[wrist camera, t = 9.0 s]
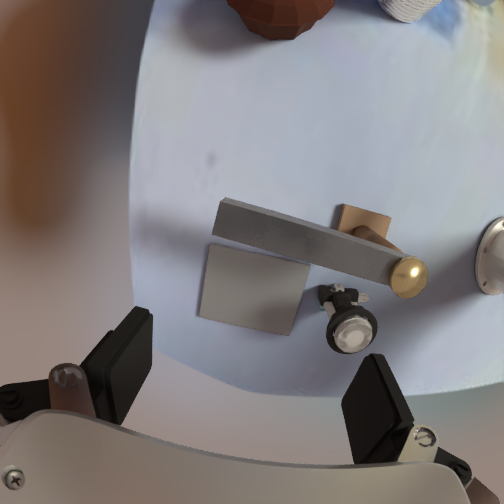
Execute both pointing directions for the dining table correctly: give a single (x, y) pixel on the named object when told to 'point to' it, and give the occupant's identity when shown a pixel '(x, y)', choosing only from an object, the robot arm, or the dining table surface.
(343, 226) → the post
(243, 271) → the rubber mat
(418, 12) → the water bottle
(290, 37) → the muffin
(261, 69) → the dining table surface
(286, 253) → the steel strap
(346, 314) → the push button
